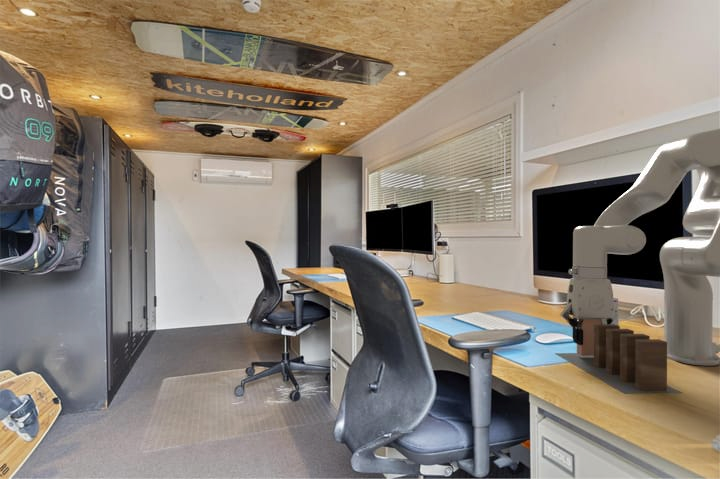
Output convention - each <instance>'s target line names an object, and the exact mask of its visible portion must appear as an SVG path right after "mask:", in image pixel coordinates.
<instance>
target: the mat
mask: <svg viewBox="0 0 720 479" xmlns="http://www.w3.org/2000/svg"><path fill="white" fill-rule="evenodd" d="M554 355H556V356H558V357H560V358H562V359H563V360H566V362H569V363H570V364H572V365H573V366H576V367H577V368H579V369H580V370H583V371H584V372H585V373H587V374H589V375H591V376H592V377H595V378H596V379H598V380H600V381H601V382H604V383H605V384H607V385H609V387H611V388H613V389H616V390H617V391H619V392H620V393H622V394H624V395H627V394H628V395H631V394H632V395H634V394H635V395H639V394H640V395H642V394H644V395H646V394H650V395H651V394H684V392H683V391H680V390H678V389H677V388H674V387H672V386H670V385H668V384H667V391H641V390H640V389H638V388H636V387H635V383H626V382H624V381H623V380H621V379H620V375H611V374H609V373H607V372H606V368H598V367H596V366H594V356H581V355H579V354H578V353H577V352H567V353H565V352H561V353H559V352H554Z"/></svg>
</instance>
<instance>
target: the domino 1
mask: <svg viewBox="0 0 720 479" xmlns="http://www.w3.org/2000/svg"><path fill="white" fill-rule="evenodd" d="M594 324H601V320H600V319H584V320H583V323H582V326H581V329H582V330H583V345H579V344H576V353H578V354H579V355H581V356H594Z"/></svg>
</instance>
